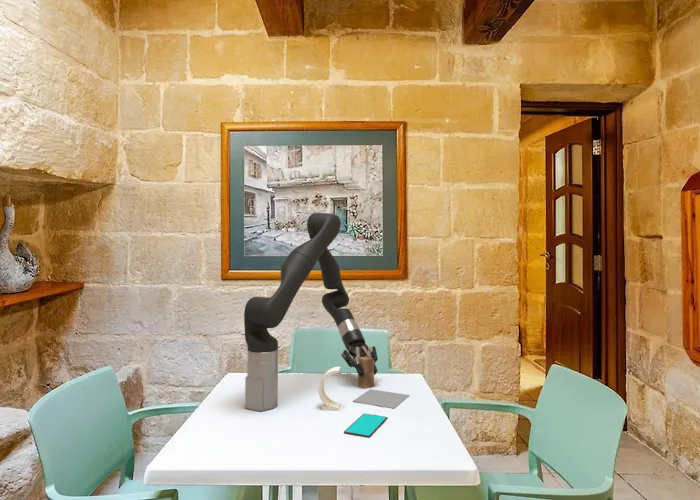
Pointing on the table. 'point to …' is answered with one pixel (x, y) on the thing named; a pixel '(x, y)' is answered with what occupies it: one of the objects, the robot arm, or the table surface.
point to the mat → (381, 398)
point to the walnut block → (366, 372)
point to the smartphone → (365, 425)
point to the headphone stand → (325, 399)
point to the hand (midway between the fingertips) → (369, 374)
